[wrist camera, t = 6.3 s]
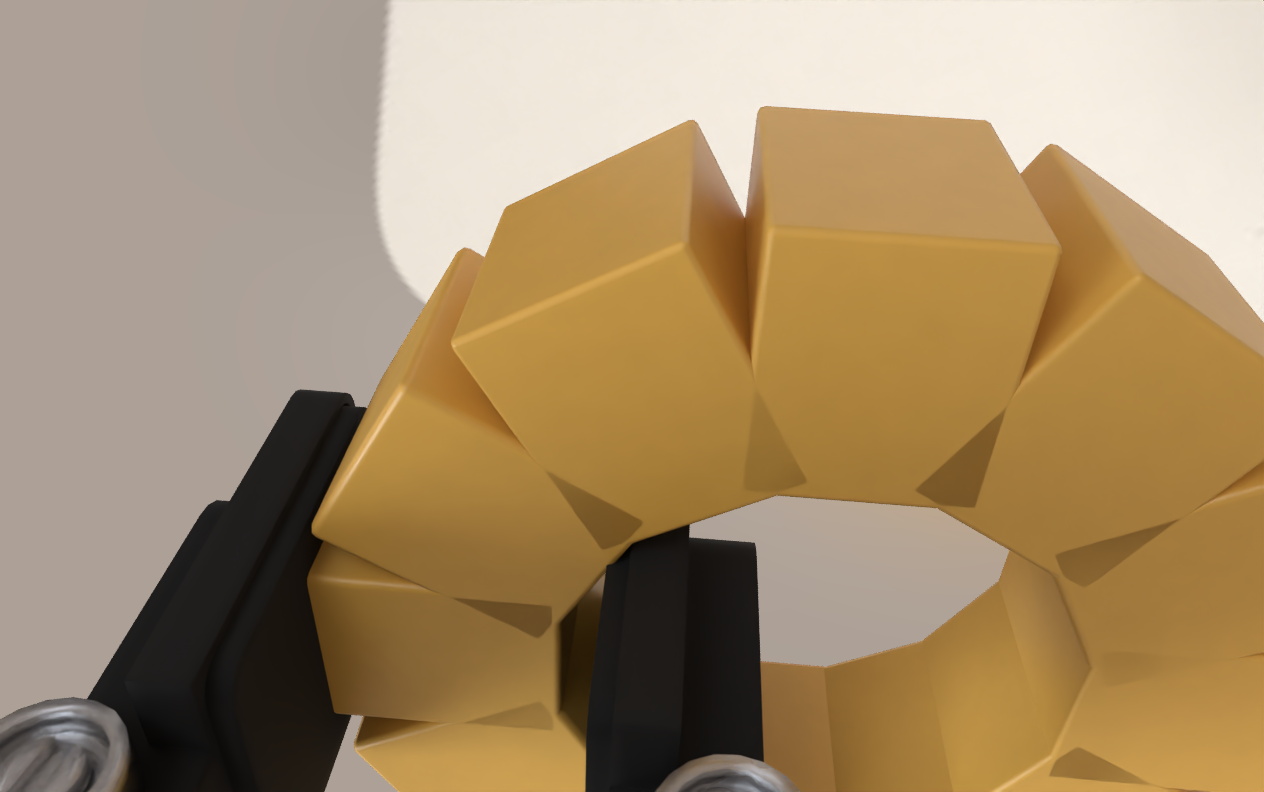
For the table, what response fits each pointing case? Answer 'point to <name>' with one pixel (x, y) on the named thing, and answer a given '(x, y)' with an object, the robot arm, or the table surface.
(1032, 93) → the table surface
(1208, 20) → the table surface
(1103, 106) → the table surface
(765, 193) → the yellow segmented ring
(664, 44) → the table surface
